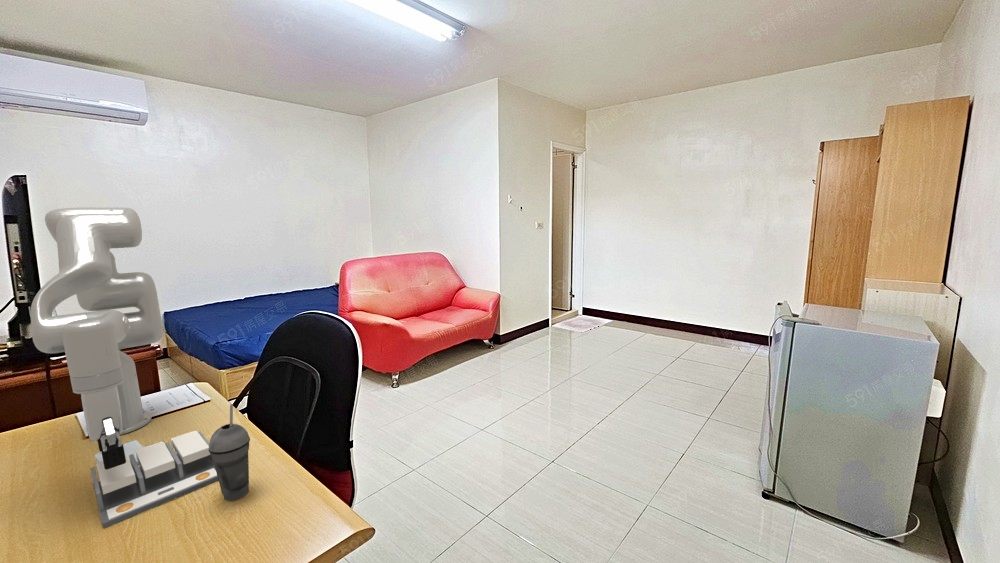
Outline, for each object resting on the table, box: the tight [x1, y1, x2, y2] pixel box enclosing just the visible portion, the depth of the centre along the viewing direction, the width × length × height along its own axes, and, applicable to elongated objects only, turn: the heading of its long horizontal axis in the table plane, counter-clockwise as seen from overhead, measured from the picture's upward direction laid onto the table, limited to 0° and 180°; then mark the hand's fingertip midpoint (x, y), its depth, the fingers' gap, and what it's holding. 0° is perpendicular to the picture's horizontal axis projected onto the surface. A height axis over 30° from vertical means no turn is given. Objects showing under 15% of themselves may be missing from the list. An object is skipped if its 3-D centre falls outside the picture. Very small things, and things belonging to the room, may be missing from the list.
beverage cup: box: [209, 403, 251, 502], centre depth 86 cm, size 7×7×20 cm
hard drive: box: [94, 439, 145, 466], centre depth 101 cm, size 2×8×12 cm
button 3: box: [170, 429, 210, 464], centre depth 97 cm, size 11×5×3 cm, turn 48°
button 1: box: [95, 453, 136, 495], centre depth 88 cm, size 11×5×3 cm, turn 48°
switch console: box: [90, 431, 219, 529], centre depth 92 cm, size 18×20×5 cm
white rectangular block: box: [135, 441, 175, 478], centre depth 93 cm, size 11×5×3 cm, turn 48°
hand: (112, 456), depth 87 cm, fingers open, 9 cm apart
